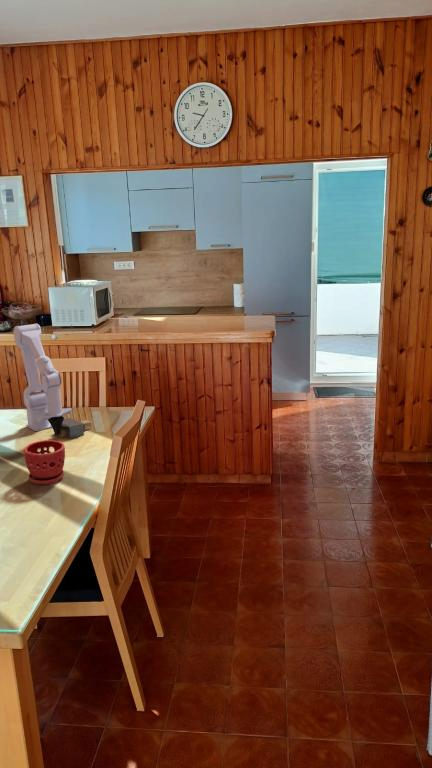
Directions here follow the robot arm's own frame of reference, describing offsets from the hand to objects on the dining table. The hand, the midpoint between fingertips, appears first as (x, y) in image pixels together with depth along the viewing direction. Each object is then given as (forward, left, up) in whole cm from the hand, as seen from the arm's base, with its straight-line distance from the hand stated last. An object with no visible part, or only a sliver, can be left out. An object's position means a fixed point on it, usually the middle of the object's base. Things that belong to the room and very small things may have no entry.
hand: (57, 434), depth 240 cm
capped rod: (0, +8, -1) cm, 8 cm away
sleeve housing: (0, +6, -1) cm, 6 cm away
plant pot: (+35, -22, -2) cm, 41 cm away
